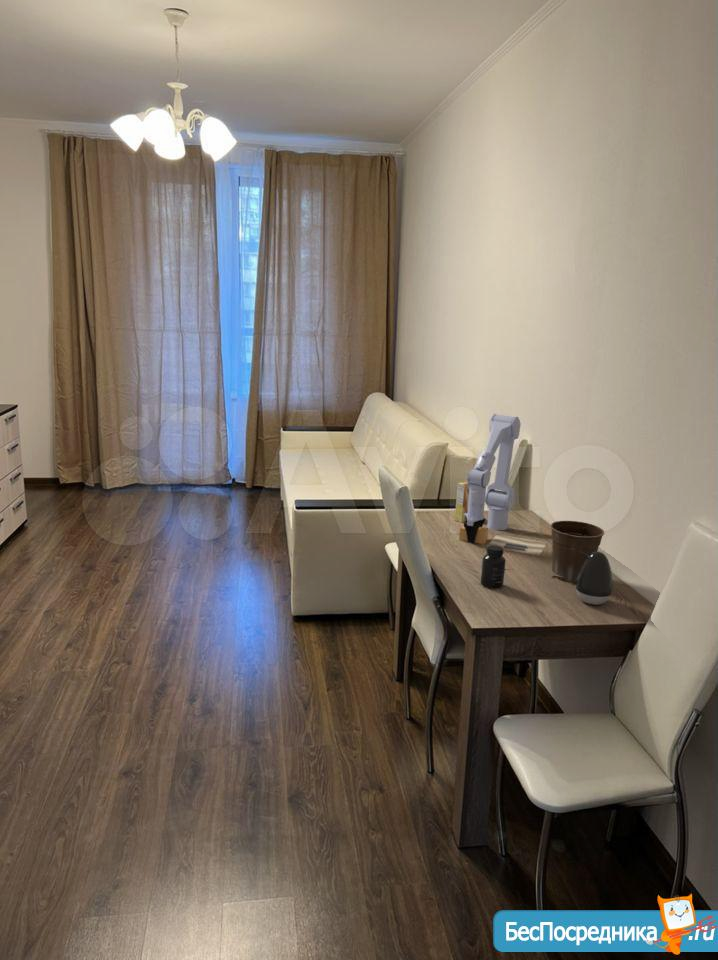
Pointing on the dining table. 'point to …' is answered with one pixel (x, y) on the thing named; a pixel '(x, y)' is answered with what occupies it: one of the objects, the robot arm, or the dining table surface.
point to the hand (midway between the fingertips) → (473, 540)
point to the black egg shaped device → (594, 579)
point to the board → (532, 545)
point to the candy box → (462, 502)
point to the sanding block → (480, 536)
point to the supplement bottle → (493, 567)
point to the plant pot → (572, 547)
